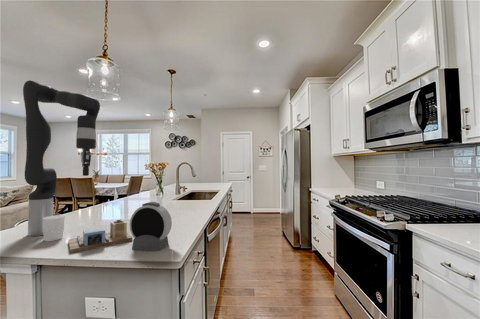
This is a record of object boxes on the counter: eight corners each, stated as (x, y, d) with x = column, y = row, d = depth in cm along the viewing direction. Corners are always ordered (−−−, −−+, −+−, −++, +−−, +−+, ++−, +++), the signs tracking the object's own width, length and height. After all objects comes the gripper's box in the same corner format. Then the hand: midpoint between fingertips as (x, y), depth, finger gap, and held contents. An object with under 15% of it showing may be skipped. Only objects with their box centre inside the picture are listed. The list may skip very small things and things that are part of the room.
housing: (83, 242, 93) (83, 230, 93) (102, 238, 97) (102, 227, 97) (84, 246, 88) (84, 233, 88) (104, 242, 93) (105, 230, 93)
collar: (110, 235, 103) (110, 222, 103) (123, 232, 106) (123, 220, 106) (112, 238, 98) (112, 224, 99) (126, 235, 102) (126, 222, 102)
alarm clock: (124, 250, 88) (125, 203, 89) (139, 241, 98) (140, 200, 99) (163, 252, 86) (163, 204, 86) (174, 243, 96) (174, 200, 97)
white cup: (51, 242, 98) (52, 219, 98) (37, 241, 99) (37, 218, 99) (68, 236, 105) (69, 215, 106) (55, 235, 107) (55, 214, 107)
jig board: (68, 243, 97) (68, 223, 97) (124, 233, 111) (124, 216, 111) (70, 253, 85) (70, 230, 85) (132, 240, 99) (132, 221, 99)
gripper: (97, 137, 101) (97, 175, 101) (94, 140, 111) (93, 175, 111) (77, 136, 96) (76, 176, 96) (75, 139, 106) (74, 175, 106)
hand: (85, 175), depth 103 cm, fingers closed
